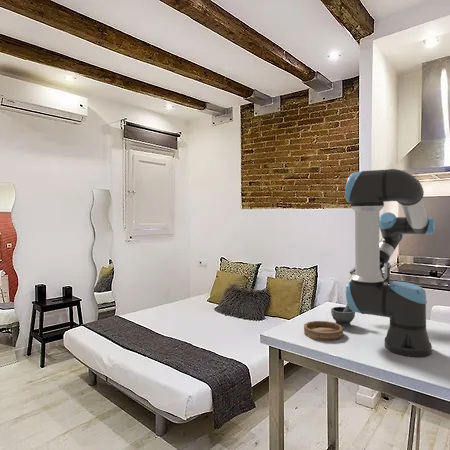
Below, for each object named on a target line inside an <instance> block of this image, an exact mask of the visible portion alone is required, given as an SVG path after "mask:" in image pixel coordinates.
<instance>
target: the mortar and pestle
mask: <svg viewBox="0 0 450 450" xmlns="http://www.w3.org/2000/svg"><path fill="white" fill-rule="evenodd" d="M330 312H331V317H332V318H333V320H334V321H335V323H337V324H339V325H341V326H342V328H343V329H344V328H345V329H346V328H350V327H351V322H352V321H353V320H354V318H355V317H356V315H355V314H356V312H353V311H352V310H351V309H350V308H349V306H348V304H347V303H346V305H345V306H334V307H331V308H330Z"/></svg>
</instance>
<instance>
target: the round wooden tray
mask: <svg viewBox="0 0 450 450" xmlns="http://www.w3.org/2000/svg"><path fill="white" fill-rule="evenodd" d="M303 330H304V331H303V332H304V335H305V336H306V337H308V338H309V339H313V340H316V341H323V342H325V341H327V342H328V341H329V342H330V341H337V340H340V339H342V337H343V334H344V328H343V327H342V326H341V325H339V324H337V323H336V322H332V321H327V320H314V321H313V320H312V321H308V322H306V323H304V324H303Z"/></svg>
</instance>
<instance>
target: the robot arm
mask: <svg viewBox="0 0 450 450" xmlns="http://www.w3.org/2000/svg"><path fill="white" fill-rule="evenodd" d="M424 193H425V192H424V188H423V185H422V184H421V182H420V181H419V180H418V179H417V178H416V177H415V176H413V174H411V173H409V172H406V171H405V170H401V169H397V168H391V169H390V168H389V169H376V170H375V169H374V170H362V171H354V172H351V173H350V175H349V176H348V178H347V181H346V183H345V189H344V196H345V201H346V202H347V203H349V204H350V208H351V209H352V210H353V211H354V246H355V247H354V253H355V254H354V257H355V259H354V261H355V263H354V267H353V268H352V269H350V270H349V274H350V277H349V278H348V282H347V283H346V285H345V299H346V305H347V304H348V306H349V308H350V309H351V310H352V311H353V312H355V313H357V314H358V313H359V314H361V315H370V316H376V317H377V316H378V317H383V318H385V317H386V318H389V326H388V328H387V332H386V336H385V337H384V343H383V344H384V347H385V348H386V349H387V350H388V351H390V352H392V353H393V354H394V353H395V354H397V355H402V356H406V357H413V358H419V357H422V358H423V357H428V356H430V355H431V354H432V351H433V346H432V343H431V341H430V338H429V337H430V336H429V334H428V331H427V303H428V301H427V293H426V290H425V289H424V288H423V287H421V286H420V285H417V284H414V283H411V282H410V283H409V282H407V281H405V282H404V281H396V280H395V281H394V280H393V281H390V278H391V277H390V276H391V270H390V269H391V267H392V265H391V264H390V262H389V261H390V258H392V256H393V254H394V252H395V251H396V249H397V247H398V245H399V244H400V242H401V241H402V240H403V237H404V235H422V236H423V235H425V236H426V235H434V233H435V230H436V220H435V218H434V217H431V216H428V215H427V210H426V207H425V204H424V199H423V197H424ZM385 202H397V204H399V205H400V206H401V208H402V210H403V212H404V216H403V217H402V216H399V217H398V216H396V215H395V214H394V213H392V212H384V213H381V214H380V211H381V210H382V209H384V207H385ZM380 232H381V238H380ZM383 268H384V271H383ZM385 283H388V284H385Z"/></svg>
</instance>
